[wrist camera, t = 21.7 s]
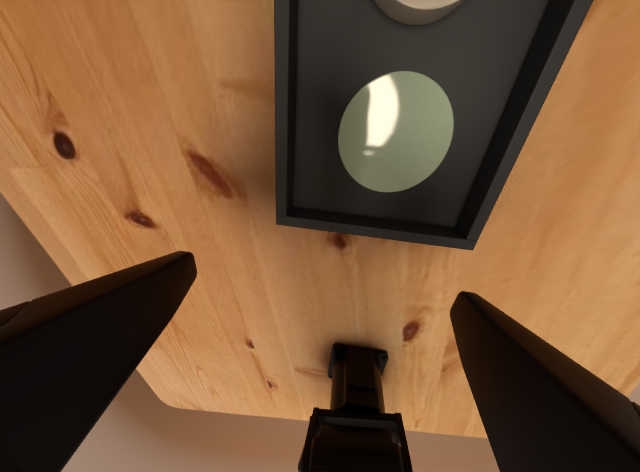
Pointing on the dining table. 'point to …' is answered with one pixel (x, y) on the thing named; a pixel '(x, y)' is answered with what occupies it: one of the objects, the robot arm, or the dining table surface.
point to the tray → (441, 66)
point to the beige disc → (417, 10)
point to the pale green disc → (395, 131)
